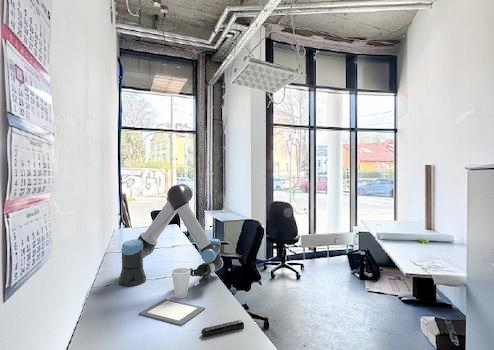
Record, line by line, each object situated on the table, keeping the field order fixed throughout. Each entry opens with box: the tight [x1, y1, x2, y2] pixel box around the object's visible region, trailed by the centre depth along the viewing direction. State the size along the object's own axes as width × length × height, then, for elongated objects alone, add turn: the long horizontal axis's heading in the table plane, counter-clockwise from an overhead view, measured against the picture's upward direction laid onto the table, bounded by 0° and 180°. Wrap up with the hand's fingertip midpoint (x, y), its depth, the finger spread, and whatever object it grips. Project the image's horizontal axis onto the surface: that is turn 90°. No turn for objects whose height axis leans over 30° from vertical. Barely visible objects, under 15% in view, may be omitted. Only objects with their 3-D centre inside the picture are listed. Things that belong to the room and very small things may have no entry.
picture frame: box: [138, 298, 206, 327], centre depth 147 cm, size 24×18×1 cm
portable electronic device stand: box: [200, 319, 245, 339], centre depth 129 cm, size 18×3×3 cm, turn 116°
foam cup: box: [171, 267, 190, 299], centre depth 166 cm, size 10×9×13 cm
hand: (183, 280), depth 167 cm, fingers open, 13 cm apart
